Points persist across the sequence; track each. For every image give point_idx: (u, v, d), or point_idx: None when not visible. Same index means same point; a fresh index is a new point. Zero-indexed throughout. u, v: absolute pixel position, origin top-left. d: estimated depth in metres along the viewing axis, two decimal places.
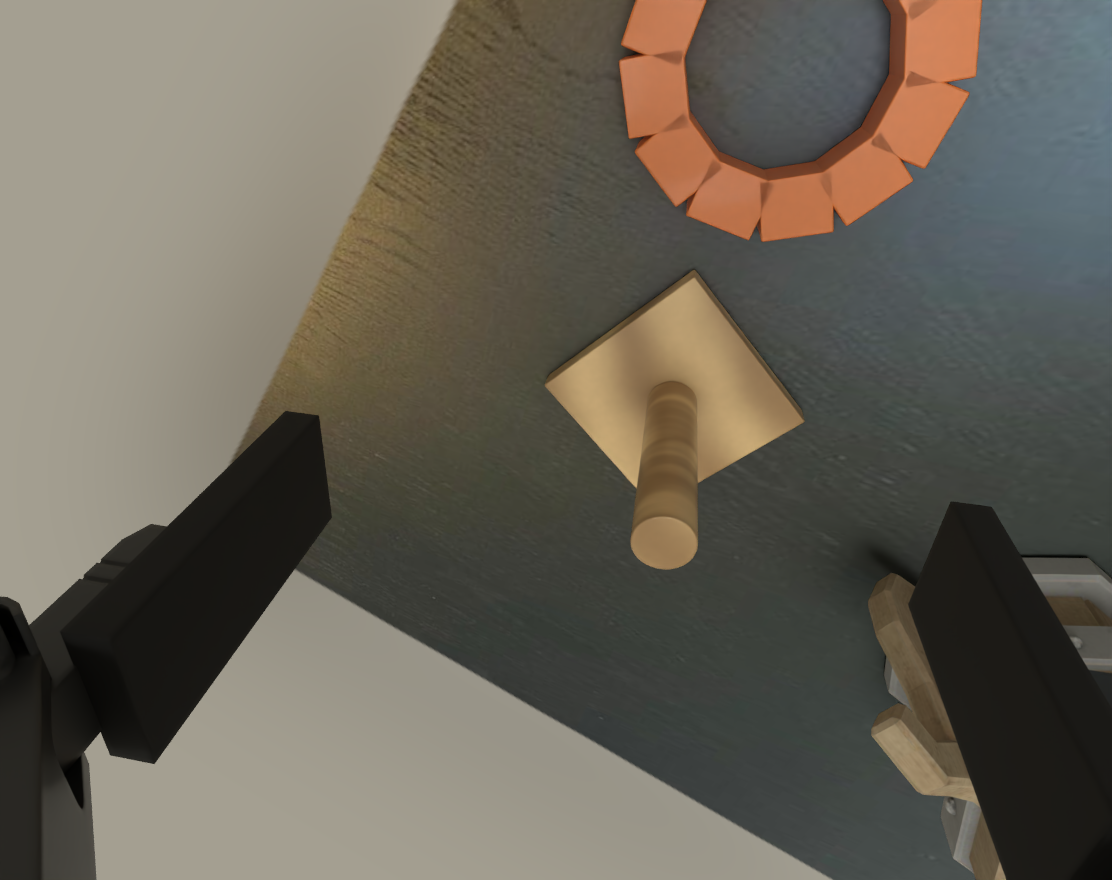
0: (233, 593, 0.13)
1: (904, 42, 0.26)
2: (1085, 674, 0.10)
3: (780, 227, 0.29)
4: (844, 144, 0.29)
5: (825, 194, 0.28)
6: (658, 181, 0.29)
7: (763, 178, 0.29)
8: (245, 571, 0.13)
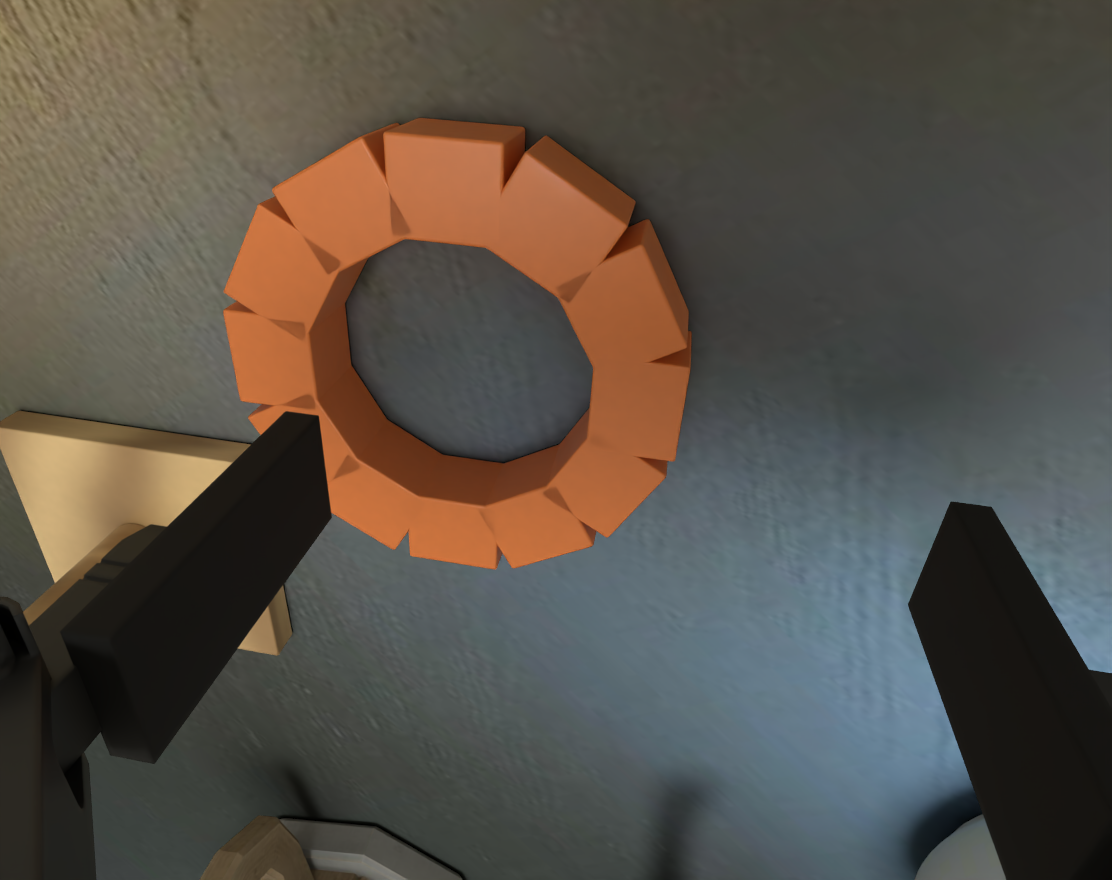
0: (233, 593, 0.13)
1: (569, 457, 0.20)
2: (1085, 674, 0.10)
3: (343, 506, 0.22)
4: (471, 472, 0.23)
5: (407, 515, 0.22)
6: (234, 361, 0.20)
7: (355, 452, 0.21)
8: (245, 571, 0.13)
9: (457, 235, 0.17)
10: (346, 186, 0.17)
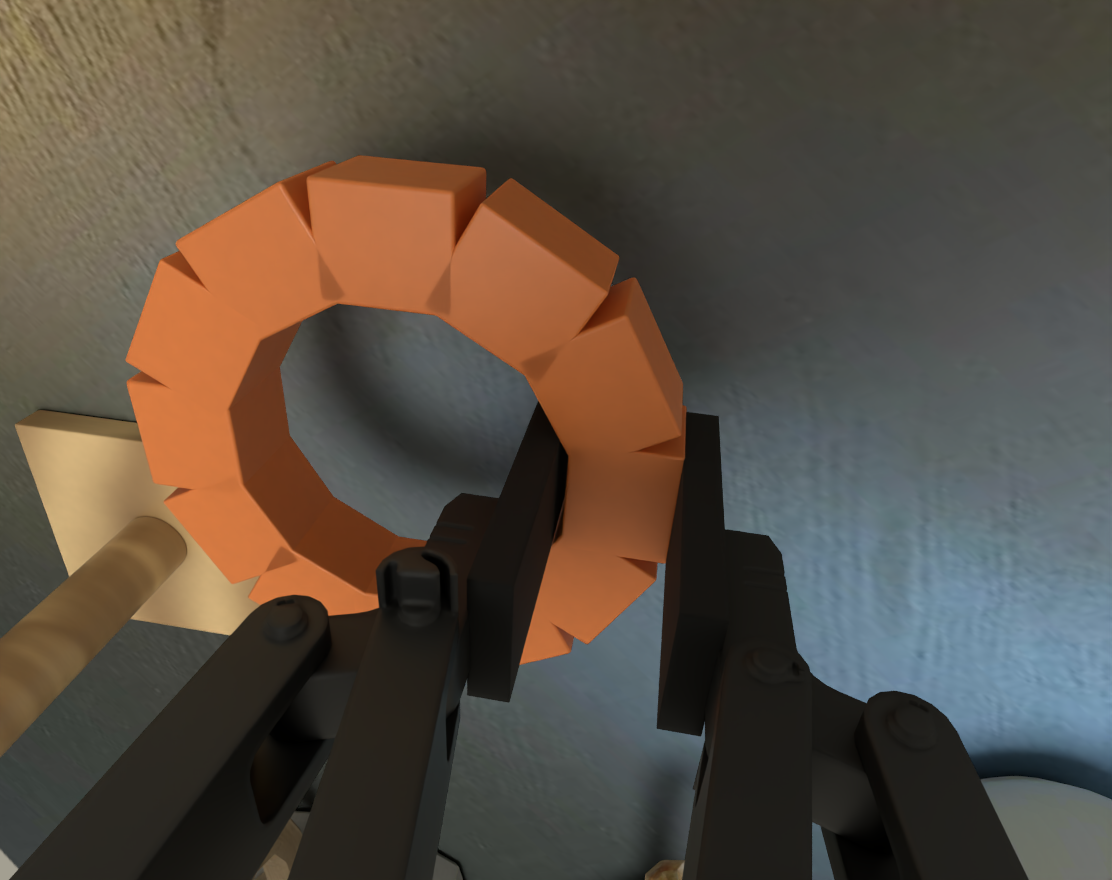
0: (539, 554, 0.14)
1: None
2: (718, 526, 0.13)
3: None
4: None
5: None
6: (142, 439, 0.17)
7: (290, 542, 0.18)
8: (544, 536, 0.15)
9: (401, 300, 0.14)
10: (264, 240, 0.14)
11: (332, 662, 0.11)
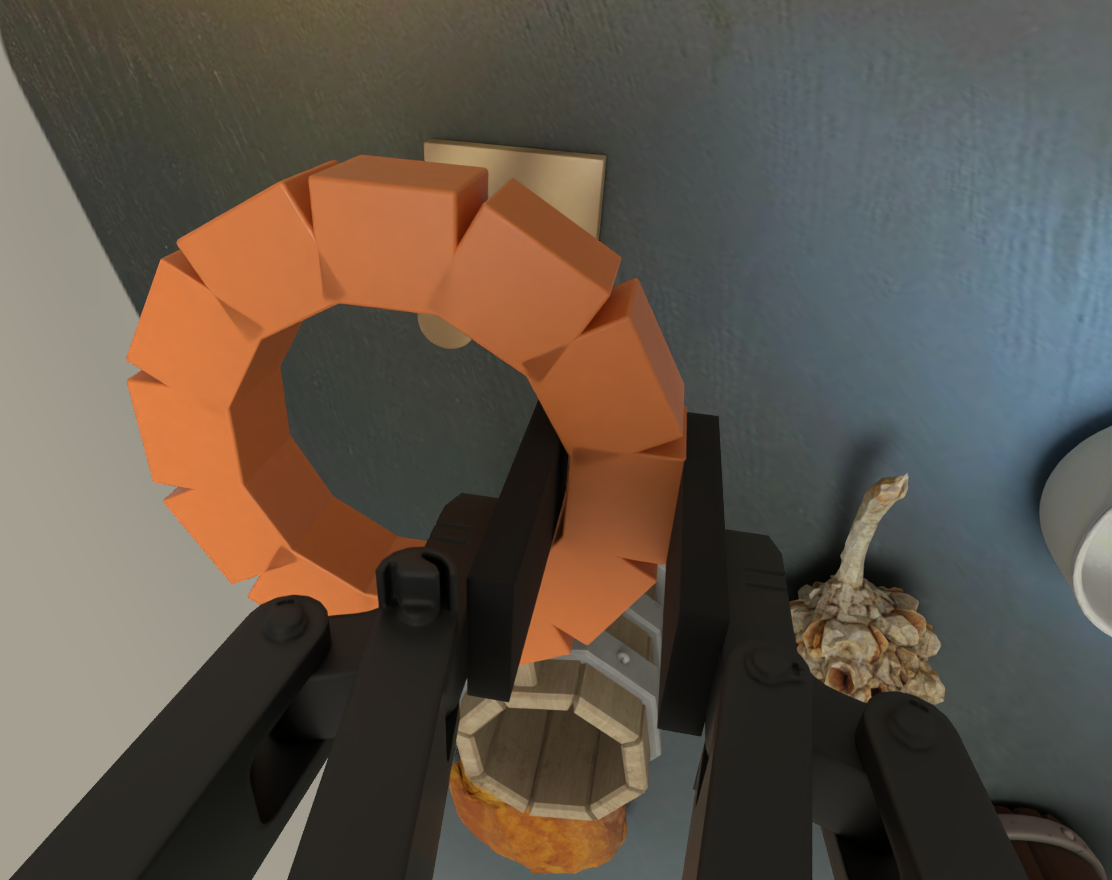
0: (539, 554, 0.14)
1: None
2: (718, 526, 0.13)
3: None
4: None
5: None
6: (142, 438, 0.17)
7: (290, 542, 0.18)
8: (543, 536, 0.15)
9: (402, 300, 0.14)
10: (266, 239, 0.14)
11: (332, 662, 0.11)
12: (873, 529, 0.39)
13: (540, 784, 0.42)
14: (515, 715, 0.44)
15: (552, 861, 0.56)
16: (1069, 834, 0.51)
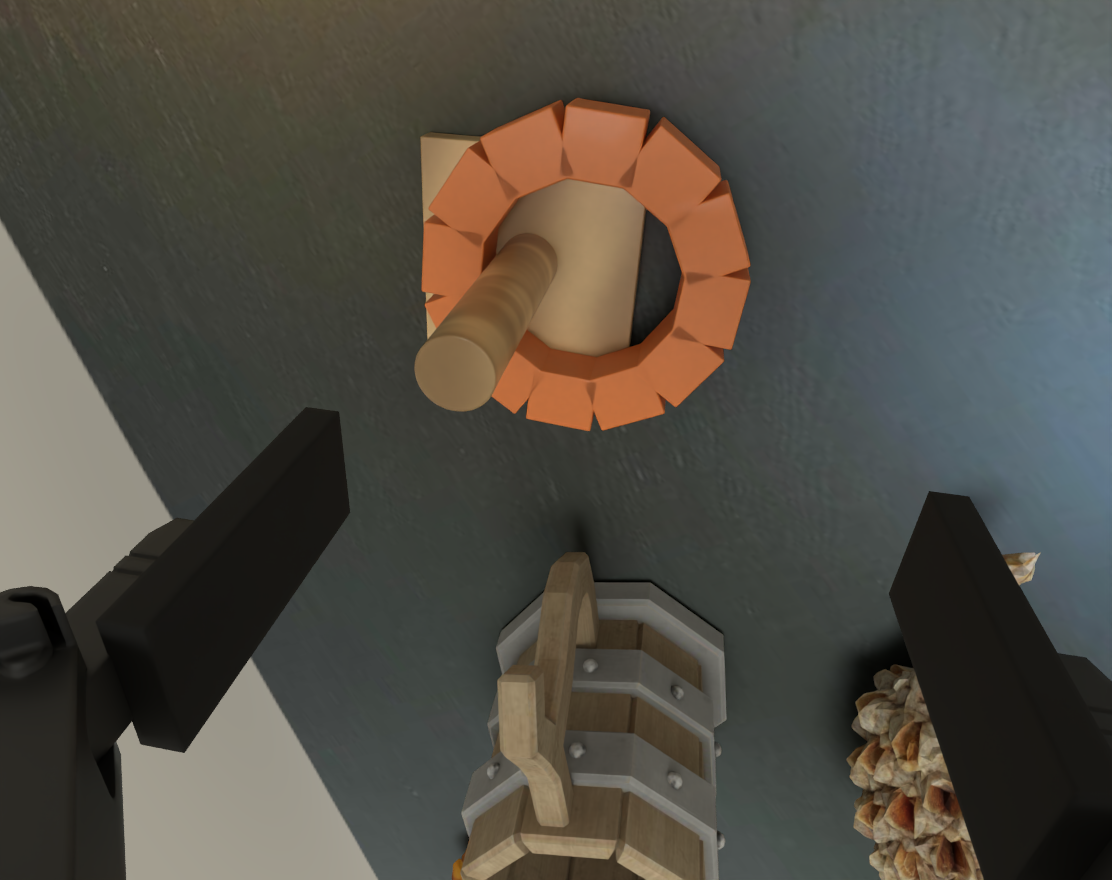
0: (258, 585, 0.13)
1: (656, 344, 0.28)
2: (1053, 656, 0.11)
3: None
4: (574, 360, 0.31)
5: (530, 386, 0.30)
6: (423, 261, 0.28)
7: None
8: (269, 564, 0.14)
9: (604, 178, 0.26)
10: (533, 139, 0.25)
11: None
12: None
13: None
14: None
15: None
16: None
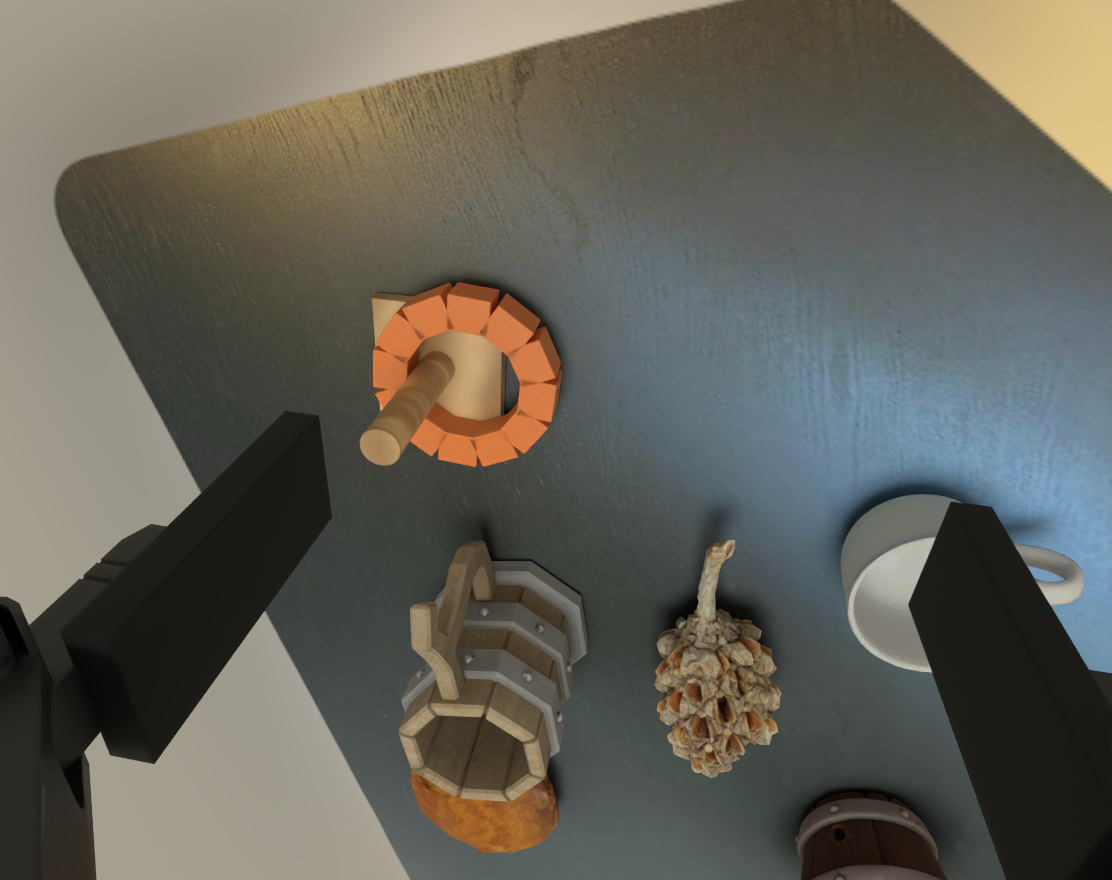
0: (233, 592, 0.13)
1: (509, 418, 0.49)
2: (1085, 674, 0.10)
3: None
4: (467, 424, 0.52)
5: (439, 440, 0.51)
6: (373, 370, 0.49)
7: None
8: (245, 571, 0.13)
9: (471, 330, 0.46)
10: (431, 310, 0.46)
11: None
12: (715, 578, 0.52)
13: (469, 774, 0.55)
14: (452, 721, 0.57)
15: (494, 841, 0.69)
16: (905, 813, 0.64)
